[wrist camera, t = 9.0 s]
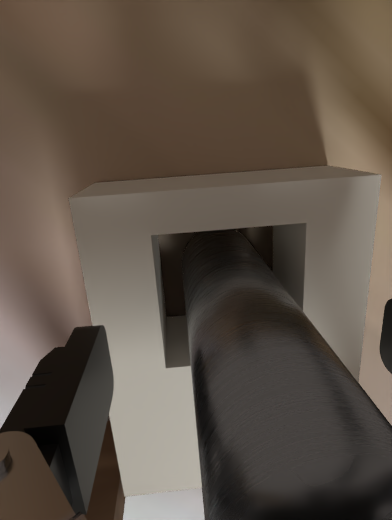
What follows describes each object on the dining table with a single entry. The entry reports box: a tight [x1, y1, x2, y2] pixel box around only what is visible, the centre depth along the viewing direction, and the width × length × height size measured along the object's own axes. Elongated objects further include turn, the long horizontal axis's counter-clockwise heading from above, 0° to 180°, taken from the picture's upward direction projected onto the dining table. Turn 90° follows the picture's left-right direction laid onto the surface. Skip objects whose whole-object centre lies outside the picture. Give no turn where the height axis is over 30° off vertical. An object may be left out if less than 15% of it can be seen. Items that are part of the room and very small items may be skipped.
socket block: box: [69, 166, 381, 497], centre depth 15 cm, size 13×10×4 cm
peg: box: [182, 229, 392, 520], centre depth 10 cm, size 3×3×12 cm
